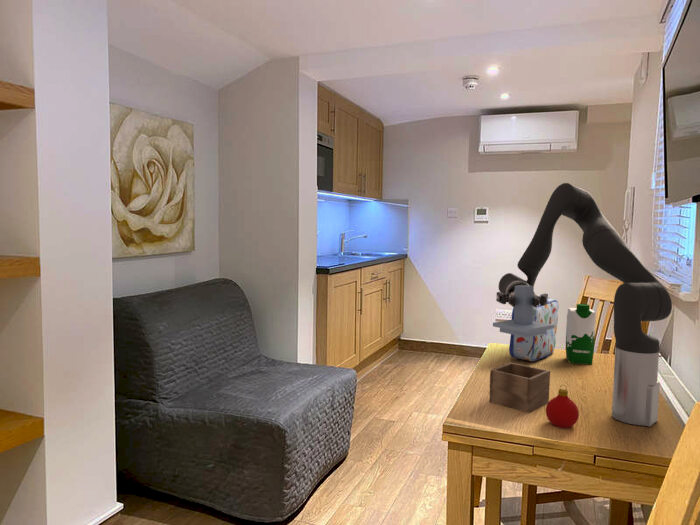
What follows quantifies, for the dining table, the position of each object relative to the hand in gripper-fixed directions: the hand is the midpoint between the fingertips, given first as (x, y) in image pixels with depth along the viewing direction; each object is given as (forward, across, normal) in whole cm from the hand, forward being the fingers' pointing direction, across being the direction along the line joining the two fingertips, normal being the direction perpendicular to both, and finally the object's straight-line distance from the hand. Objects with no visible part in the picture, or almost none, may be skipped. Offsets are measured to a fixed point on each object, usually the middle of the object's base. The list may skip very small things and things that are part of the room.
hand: (524, 302), depth 135 cm
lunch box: (-53, +8, +27) cm, 60 cm away
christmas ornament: (+14, +8, +27) cm, 31 cm away
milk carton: (-50, +23, +27) cm, 61 cm away
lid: (-3, 0, +8) cm, 9 cm away
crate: (+1, -1, +26) cm, 27 cm away
